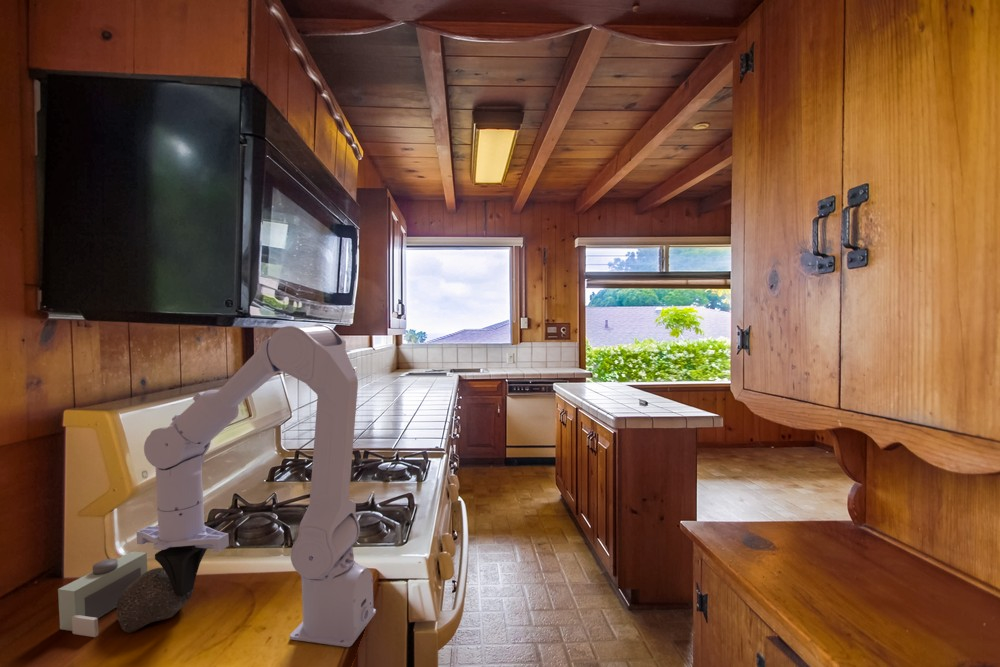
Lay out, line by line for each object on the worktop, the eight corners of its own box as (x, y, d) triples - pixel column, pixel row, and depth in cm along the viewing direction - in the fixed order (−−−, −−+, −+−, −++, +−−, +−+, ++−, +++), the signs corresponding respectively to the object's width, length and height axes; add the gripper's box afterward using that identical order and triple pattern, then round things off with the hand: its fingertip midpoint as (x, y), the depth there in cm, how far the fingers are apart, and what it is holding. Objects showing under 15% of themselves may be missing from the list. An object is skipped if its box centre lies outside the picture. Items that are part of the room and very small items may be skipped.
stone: (110, 647, 70) (99, 629, 64) (128, 585, 76) (120, 563, 69) (188, 637, 74) (184, 619, 68) (199, 579, 80) (197, 558, 73)
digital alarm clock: (170, 588, 79) (168, 547, 79) (94, 637, 67) (92, 589, 67) (136, 584, 80) (134, 544, 80) (56, 631, 68) (53, 584, 68)
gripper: (114, 511, 68) (119, 602, 68) (199, 518, 65) (203, 613, 66) (159, 493, 75) (162, 576, 75) (237, 498, 72) (241, 585, 72)
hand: (184, 592), depth 71 cm, fingers closed
